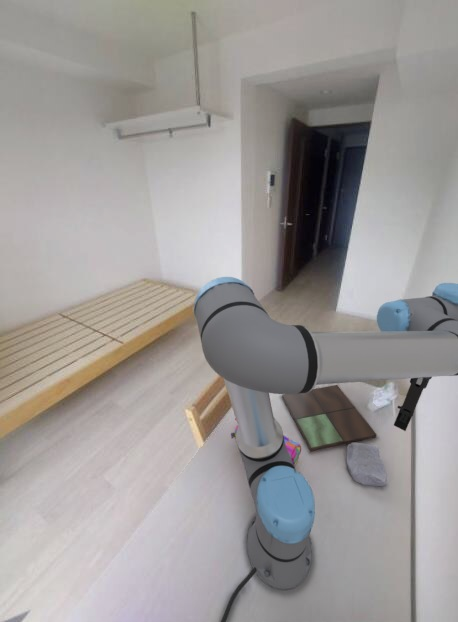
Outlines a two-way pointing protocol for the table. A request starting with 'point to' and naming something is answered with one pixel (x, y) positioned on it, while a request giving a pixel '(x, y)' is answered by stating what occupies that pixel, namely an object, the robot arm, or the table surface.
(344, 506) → the table surface
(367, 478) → the stone block
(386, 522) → the table surface
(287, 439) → the pencil case
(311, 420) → the board
